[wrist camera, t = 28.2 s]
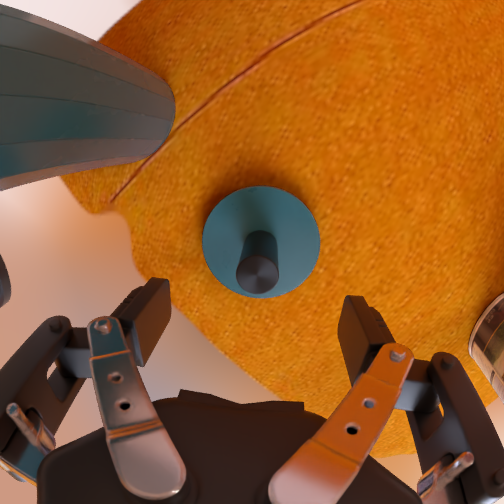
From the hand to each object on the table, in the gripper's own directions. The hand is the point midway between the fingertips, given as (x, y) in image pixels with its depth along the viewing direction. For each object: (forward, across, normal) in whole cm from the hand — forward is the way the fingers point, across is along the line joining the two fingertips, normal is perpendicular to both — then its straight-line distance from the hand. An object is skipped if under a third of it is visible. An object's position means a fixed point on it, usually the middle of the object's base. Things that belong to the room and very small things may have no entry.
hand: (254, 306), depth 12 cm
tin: (+10, +11, -9) cm, 17 cm away
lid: (+9, 0, 0) cm, 9 cm away
